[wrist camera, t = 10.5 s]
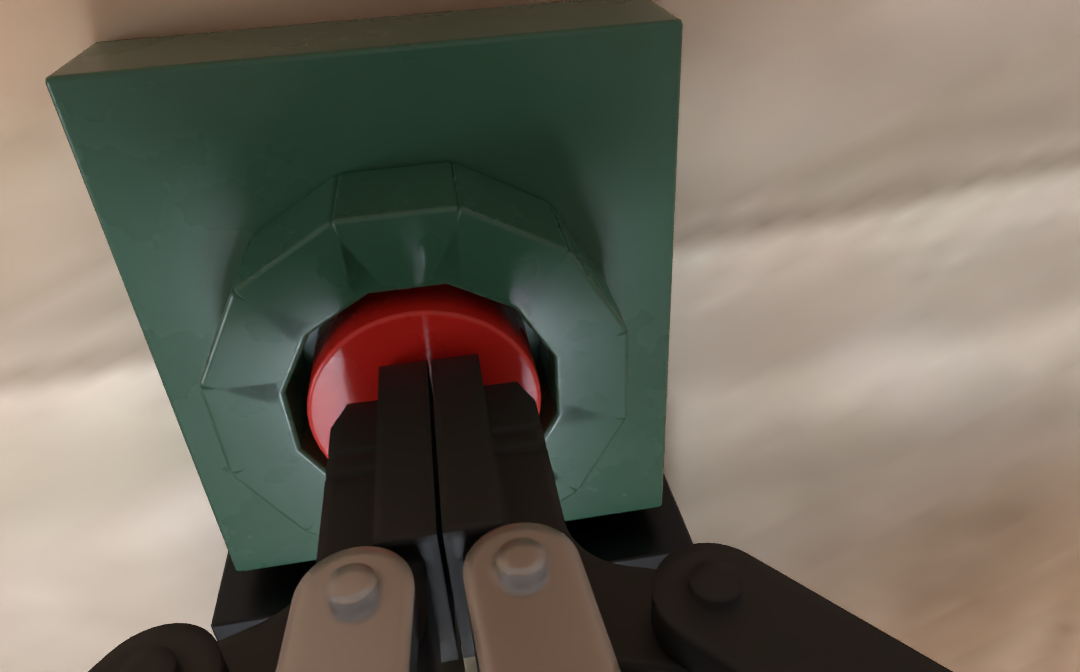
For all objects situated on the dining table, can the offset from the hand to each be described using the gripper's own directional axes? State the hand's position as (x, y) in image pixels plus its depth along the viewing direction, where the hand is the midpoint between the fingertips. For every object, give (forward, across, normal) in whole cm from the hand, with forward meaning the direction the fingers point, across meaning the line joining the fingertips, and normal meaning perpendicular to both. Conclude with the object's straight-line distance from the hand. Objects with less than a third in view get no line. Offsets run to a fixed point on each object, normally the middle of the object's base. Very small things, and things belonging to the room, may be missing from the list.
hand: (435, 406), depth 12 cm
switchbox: (+4, 0, 0) cm, 4 cm away
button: (+2, 0, 0) cm, 2 cm away
